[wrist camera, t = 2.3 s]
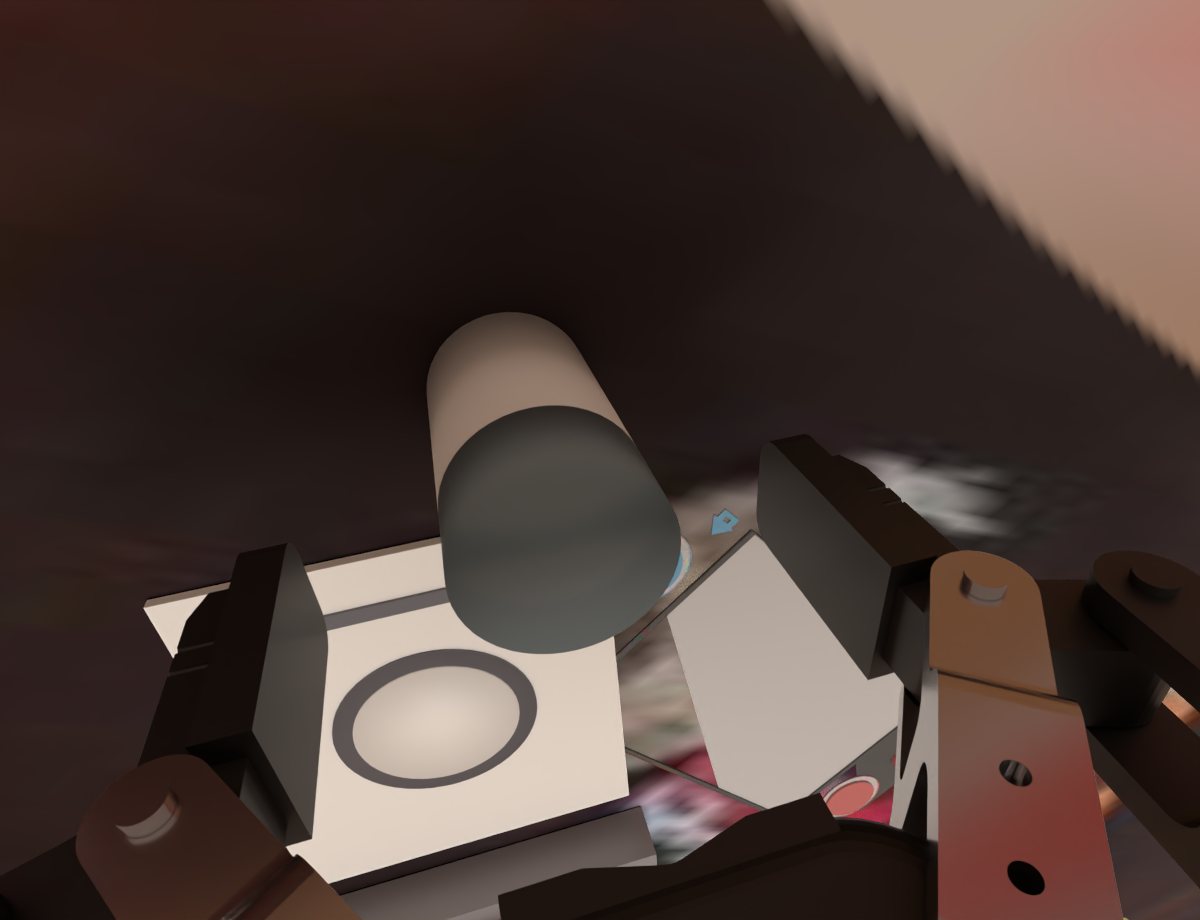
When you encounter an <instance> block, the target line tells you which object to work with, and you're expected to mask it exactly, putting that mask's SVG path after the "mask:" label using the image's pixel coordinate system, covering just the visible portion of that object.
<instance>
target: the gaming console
mask: <svg viewBox="0 0 1200 920" xmlns="http://www.w3.org/2000/svg"><path fill="white" fill-rule="evenodd" d="M725 517H728V518H729V519H730V521H729V522H728V523H726V522H725V521H724V520H723V519H724V518H725ZM738 521H739V520H738V519H737V518H736V517H735V516H734V515H732V514H731V513H730V512H729V511H727V510H726V509H724V510H723V511H722V512H721V513H720V514H719V515H718V516H715V515H713V523H712V532H711V534H712V535H714V534H719V533H724V532H729V531H733V529H732V527H733V526H734V525H735V524H736V523H737V522H738ZM691 560H692V554H691V549H690V546H689V544H688V542H687V541H686V539H685V538H684V537H683V536H682V535H681V552H680V557H679V561H678V565H677V568H676V571H675V574H674V576H673V578H672V580H671V582H670V584H669V586H668V588H667V589H666V590H665V592H664V593H663V595H662V596H661V598H662V597H664V596H666V595H667V594H669V593H670V592H671V591H673V590H674V589H675V588H676V587H677V586H678V585H679V584H680V583H681V582H682V581H683V580H684V578H685V576H686V575H687V573H688V571H689V568H690V566H691ZM666 616H667V617H668V621H669V624H670V627H671V631H672V634H673V637H674V641H675V644H676V647H677V651H678V654H679V657H680V661H681V664H682V667H683V670H684V674H685V677H686V681H687V684H688V687H689V691H690V694H691V697H692V701H693V704H694V707H695V711H696V714H697V717H698V721H699V724H700V727H701V731H702V734H703V737H704V741H705V744H706V747H707V751H708V754H709V757H710V761H711V764H712V767H713V771H714V774H715V777H716V781H717V784H718V787H716V786H714V785H712V784H709V783H707V782H705V781H702V780H700V779H698V778H695V777H693V776H691V775H689V774H686V773H684V772H682V771H679V770H677V769H675V768H672V767H670V766H668V765H666V764H663V763H661V762H659V761H656V760H654V759H652V758H649V757H647V756H645V755H643V754H640V753H638V752H636V751H633V750H631V749H629V748H626V747H624V748H625V753H627V754H630V755H632V756H634V757H637V758H639V759H641V760H644V761H646V762H648V763H651V764H653V765H655V766H658V767H660V768H662V769H665V770H667V771H669V772H672V773H674V774H676V775H679V776H681V777H683V778H686V779H688V780H690V781H693V782H695V783H697V784H700V785H702V786H704V787H707V788H709V789H711V790H714V791H716V792H718V793H721V794H723V795H725V796H728V797H730V798H732V799H735V800H737V801H739V802H742V803H744V804H746V805H749V806H751V807H753V808H756V809H758V810H760V811H763V810H767V809H770V808H773V807H776V806H779V805H782V804H785V803H788V802H792V801H795V800H798V799H801V798H804V797H807V796H810V795H814V794H817V793H819V792H821V791H822V790H823V789H824V788H826V787H827V786H828V785H829V784H831V783H832V782H833V781H835V780H836V779H837V778H838V777H840V776H841V775H842V774H843V773H845V772H846V771H847V770H849V769H850V768H851V767H852V766H854V765H855V764H856V771H857V776H856V777H852V778H849V779H847V780H845V781H843V782H841V783H839V784H838V785H836V786H835V787H833V788H832V789H831V790H830V791H829V792H827V794H826V795H825V796H824V797H823V799H824V801H825V803H826V805H827V806H828V808H829V810H830V811H831V813H832V815H833V817H843V816H846V815H849V814H852V813H854V812H856V811H858V810H861V809H863V808H864V807H865V806H867V805H868V804H869V803H871V802H872V801H873V800H875V799H876V798H877V797H878V796H880V795H881V794H882V793H884V792H885V791H886V790H888V789H889V788H890V787H892V786H893V785H894V784H895V766H896V748H897V729H898V711H899V696H900V691H901V687H902V682H901V680H900V679H899V678H898V677H897V675H896V674H895V673H891V674H888V675H884V676H881V677H877V678H874V679H871V680H867V678H866V677H865V676H864V674H863V673H862V672H861V670H860V669H859V668H858V666H857V665H856V664H855V662H854V661H853V660H852V658H851V657H850V656H849V654H848V653H847V652H846V650H845V649H844V648H843V646H842V645H841V644H840V642H839V641H838V640H837V639H836V637H835V636H834V635H833V633H832V632H831V631H830V629H829V628H828V627H827V625H826V624H825V623H824V621H823V620H822V619H821V617H820V616H819V615H818V613H817V612H816V611H815V609H814V608H813V607H812V605H811V604H810V603H809V601H808V600H807V599H806V597H805V596H804V595H803V593H802V592H801V591H800V589H799V588H798V587H797V585H796V584H795V583H794V581H793V580H792V579H791V577H790V576H789V575H788V573H787V572H786V571H785V569H784V568H783V567H782V565H781V564H780V563H779V561H778V560H777V559H776V558H775V556H774V555H773V554H772V552H771V551H770V550H769V548H768V547H767V545H766V544H765V542H764V540H763V538H761V537H760V536H759V535H758V534H756V533H755V532H754V531H753V530H750V531H749V532H748V533H746V534H745V535H744V536H743V537H742V538H741V539H740V540H739V541H738V542H737V543H736V544H735V545H734V546H732V547H731V548H730V549H729V550H728V551H727V552H726V553H725V554H724V555H723V556H722V557H721V558H720V559H718V560H717V561H716V562H715V563H714V564H713V565H712V566H711V567H710V568H709V569H708V570H707V571H706V572H704V573H703V574H702V575H701V576H700V577H699V578H698V579H697V580H696V581H695V582H694V583H693V584H692V585H690V586H689V587H688V588H687V589H686V590H685V591H684V592H683V593H682V594H681V595H680V596H679V597H678V598H676V599H675V600H674V601H673V602H672V603H671V604H670V605H669V606H668V607H667V608H666V609H665V610H664V611H662V612H661V613H660V614H659V615H658V616H657V617H656V618H655V619H654V620H653V621H652V622H651V623H649V624H648V625H647V626H646V627H645V628H644V629H643V630H642V631H641V632H640V633H639V634H638V635H637V636H635V637H634V638H633V639H632V640H631V641H630V642H629V643H628V644H627V645H626V646H625V647H624V648H623V649H621V650H620V651H619V652H618V653H617V654H616V662H618V661H619V660H620V659H621V658H622V657H623V656H624V655H625V654H626V653H627V652H628V651H630V650H631V649H632V648H633V647H634V646H635V645H636V644H637V643H638V642H639V641H640V640H641V639H643V638H644V637H645V636H646V635H647V634H648V633H649V632H650V631H651V630H652V629H653V628H654V627H656V626H657V625H658V624H659V623H660V622H661V621H662V620H663V619H664V618H665V617H666Z"/></svg>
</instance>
